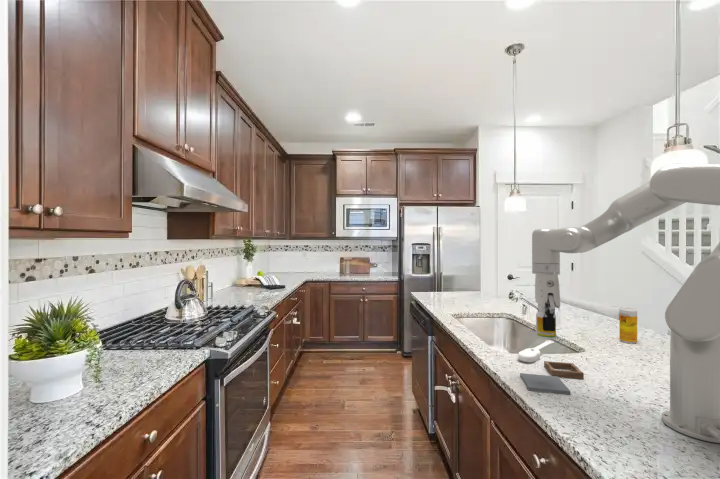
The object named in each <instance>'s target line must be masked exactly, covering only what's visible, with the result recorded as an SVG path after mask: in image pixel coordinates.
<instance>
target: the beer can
mask: <svg viewBox="0 0 720 479" xmlns="http://www.w3.org/2000/svg"><path fill="white" fill-rule="evenodd" d="M619 340H620V341H621V342H622V343H624V342H626V343H625V344H630V343H635V344H636V343H637V342H638V309H637V308H636V307H633V306H624V305H623V306H620V308H619Z"/></svg>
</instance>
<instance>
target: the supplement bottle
mask: <svg viewBox="0 0 720 479" xmlns="http://www.w3.org/2000/svg"><path fill="white" fill-rule="evenodd" d="M546 307H549V305H546ZM538 309H539V312H538V311H537V312H536V314H535V335H536V337H537V338H539V339H542V340H550V341H552V340H555V339H556V338H557V315H556V314H555V331H544V330H543V317H544V311H543V307H542V306H541V305H539V308H538V307H537V310H538ZM547 310H548V309H546V312H547Z"/></svg>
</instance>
